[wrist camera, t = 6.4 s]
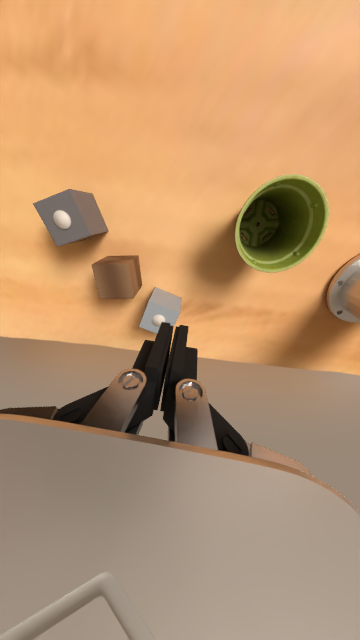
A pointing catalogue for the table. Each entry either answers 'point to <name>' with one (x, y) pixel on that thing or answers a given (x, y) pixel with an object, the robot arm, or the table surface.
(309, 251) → the plant pot
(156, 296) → the slate block
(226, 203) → the table surface
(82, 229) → the charcoal block
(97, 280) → the walnut block
